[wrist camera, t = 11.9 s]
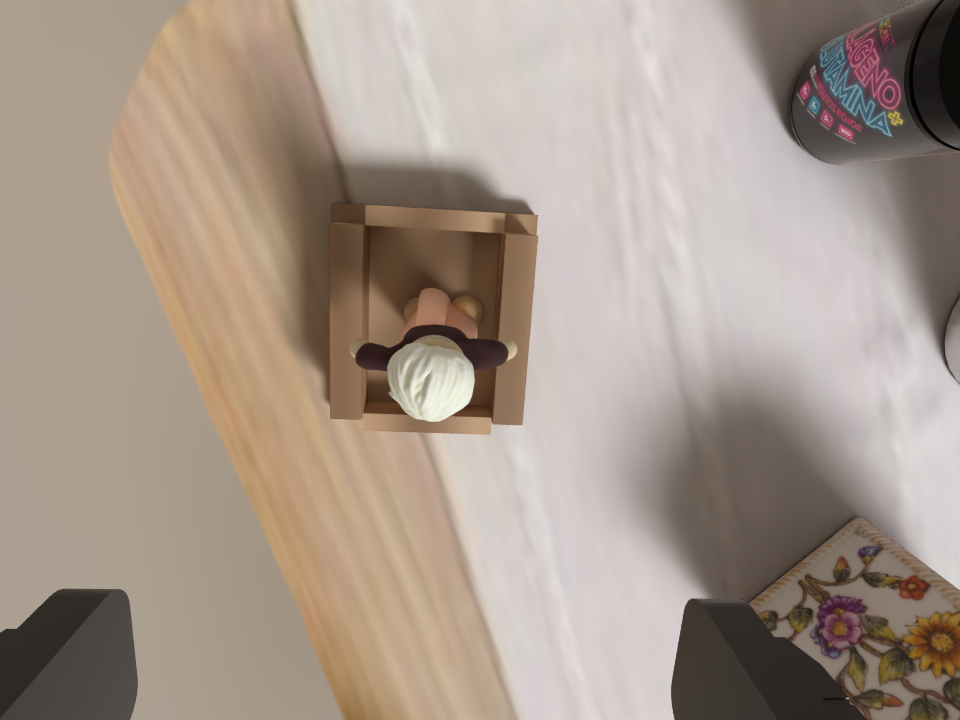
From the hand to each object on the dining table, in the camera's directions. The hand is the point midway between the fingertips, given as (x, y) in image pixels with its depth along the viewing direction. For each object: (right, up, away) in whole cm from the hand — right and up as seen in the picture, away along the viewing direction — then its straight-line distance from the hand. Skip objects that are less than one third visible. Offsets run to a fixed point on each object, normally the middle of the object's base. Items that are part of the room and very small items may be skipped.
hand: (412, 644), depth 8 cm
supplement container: (+21, +18, +24) cm, 37 cm away
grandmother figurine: (-2, +6, +24) cm, 25 cm away
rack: (-2, +7, +25) cm, 26 cm away
